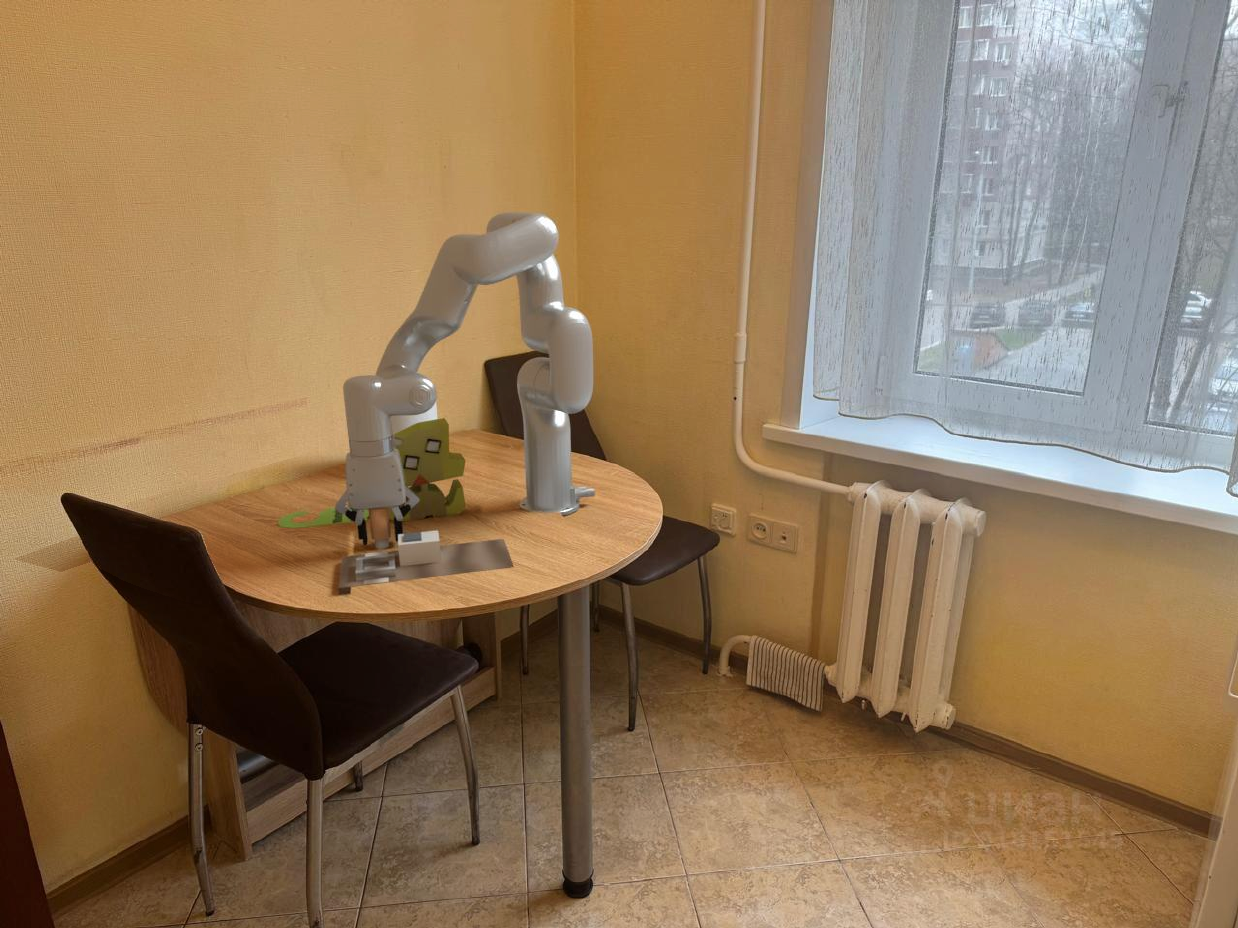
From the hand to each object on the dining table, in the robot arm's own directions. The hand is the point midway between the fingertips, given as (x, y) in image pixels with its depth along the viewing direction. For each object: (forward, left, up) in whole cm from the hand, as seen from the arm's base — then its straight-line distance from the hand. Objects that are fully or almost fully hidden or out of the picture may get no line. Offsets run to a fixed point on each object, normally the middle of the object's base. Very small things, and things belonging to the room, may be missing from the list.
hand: (381, 539), depth 152 cm
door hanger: (+8, -22, -3) cm, 24 cm away
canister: (-7, -47, -3) cm, 48 cm away
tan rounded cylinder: (0, 0, -2) cm, 2 cm away
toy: (-9, -15, -3) cm, 18 cm away
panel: (-8, +9, -2) cm, 12 cm away
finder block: (-7, +8, -1) cm, 10 cm away
